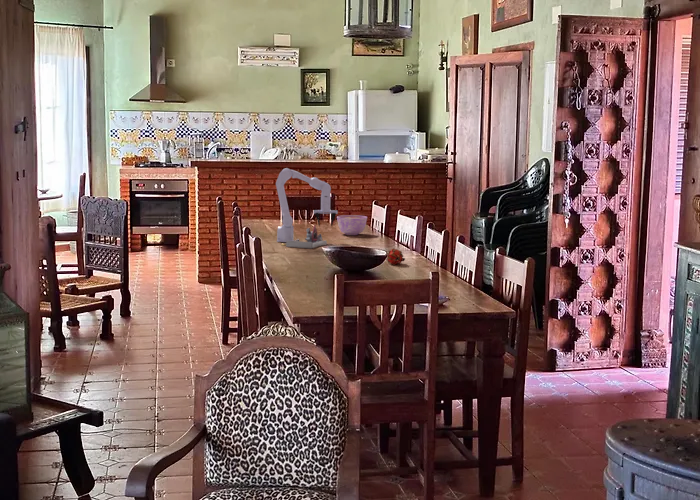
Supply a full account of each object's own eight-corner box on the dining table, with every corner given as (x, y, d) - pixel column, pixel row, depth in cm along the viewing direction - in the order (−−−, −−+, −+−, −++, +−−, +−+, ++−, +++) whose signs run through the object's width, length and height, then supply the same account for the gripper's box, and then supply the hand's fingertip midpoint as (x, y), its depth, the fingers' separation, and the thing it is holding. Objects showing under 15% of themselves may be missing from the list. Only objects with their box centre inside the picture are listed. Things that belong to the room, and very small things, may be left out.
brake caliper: (323, 240, 504) (311, 224, 504) (308, 251, 506) (297, 234, 506) (327, 238, 515) (316, 222, 515) (313, 248, 517) (302, 232, 517)
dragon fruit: (393, 264, 445) (398, 272, 434) (381, 255, 443) (386, 262, 431) (403, 252, 444) (409, 259, 433) (391, 243, 441) (396, 249, 430)
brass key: (283, 246, 497) (283, 244, 497) (280, 245, 499) (280, 244, 499) (291, 245, 502) (291, 243, 502) (288, 244, 504) (288, 242, 504)
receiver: (283, 246, 495) (283, 240, 494) (297, 242, 512) (297, 236, 511) (314, 248, 487) (314, 242, 487) (327, 244, 505) (327, 238, 504)
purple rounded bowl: (331, 235, 548) (331, 217, 546) (343, 231, 566) (343, 214, 565) (360, 237, 541) (360, 219, 539) (371, 233, 559) (371, 216, 557)
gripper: (313, 203, 510) (313, 226, 512) (337, 203, 510) (337, 226, 512) (313, 202, 517) (313, 224, 519) (337, 202, 517) (337, 225, 519)
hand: (325, 225), depth 516 cm, fingers open, 7 cm apart
